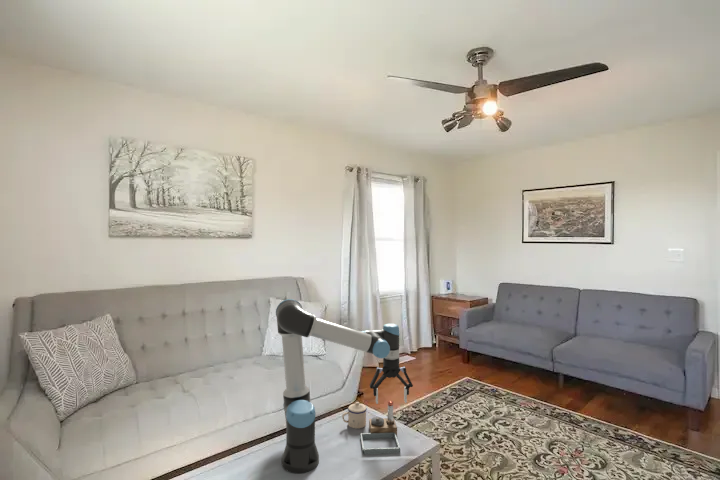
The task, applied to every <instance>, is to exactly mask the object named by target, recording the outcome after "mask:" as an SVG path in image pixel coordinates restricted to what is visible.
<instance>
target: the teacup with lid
mask: <svg viewBox="0 0 720 480" xmlns="http://www.w3.org/2000/svg"><path fill="white" fill-rule="evenodd" d="M347 410H348V411H345V412H343V414H342V417H341V419H342V422H344V423H346V424H347V425H348V426H349V427H350V428H352V429H362V428H365V427H366V426H367V406H366V404H365V405H364V404H363V403H360V402H359V401H355V403H352V404H350V405H349V406H348V407H347ZM346 415H348V416H347V417H348V418H347V419H348V420H346V419H345V416H346Z"/></svg>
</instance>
